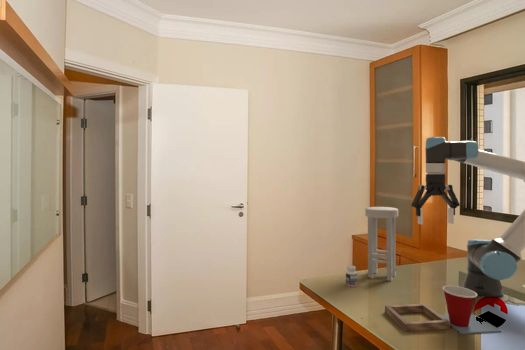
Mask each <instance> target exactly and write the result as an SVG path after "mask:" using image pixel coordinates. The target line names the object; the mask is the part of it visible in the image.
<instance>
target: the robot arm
mask: <svg viewBox="0 0 525 350" xmlns="http://www.w3.org/2000/svg"><path fill="white" fill-rule="evenodd" d="M446 160H448V161H454V162H458V163H461V164H466V165H469V166H473V167H476V168H479V169H483V170H487V171H491V172H494V173H497V174H501V175H505V176H508V177H513V178H515V179H519V180H522V181H523V182H524V183H525V161H523V160H519V159H516V158H512V157H508V156H505V155H500V154H497V153H494V152H489V151H485V150H483V149H482V150H481V149H479V143H478V142H477V141H476V140H475V141H474V140H461V141H460V140H459V141H447V140H446V138H445V136H430V137H427V138H426V140H425V173H426V174H425V185H424V184H423V185H422V184H419V185H418V190H417V192H416V194H415V195H414V199H413V201H412V202H411V204H410V205H411V207H413V208H414V209H415V216H417V224H418V225H424V210H423V206H424V205H425V204H426V202H427V201H428V200H429V198H430V197H433V196H434V197H435V196H436V197H437V196H440V197H441V198H442V199H443V200H444V202H445V203H446V204H447V205H448V207H447V223H449V224H454V223H455V222H454V220H455V219H454V216H456V208H458V207H460V202H459V200H458V198H457V196H456V193H455V192H454V189H453V185H452V184H445V183H446V174H445V173H446ZM425 190H426V191H425ZM445 190H446V191H445ZM424 192H425V193H424ZM446 192H447V193H446ZM466 249H467V251H466V252H467V254H466V255H467V256H466V257H467V260H466V261H467V267H466V275H465V277H464V280H463V282H462V287H463V288H466V289H469V290H472V291H474V292H476V293H477V296H482V297H492V298H493V297H495V298H496V297H501V296H503V295H504V287H503V285H502V283H501V280H502V281H503V280H504V281H505V280H508V279H510V278H512V277H513V276H514V275H515V274H516V273H517V270H518V263H519V262H520V261H521V260H522V254H521V253H522V251H523V250H524V249H525V209H523V211H522V212H521V213H520V214H519V215H518V216H517V218H516V219H515V220H514V221H513V222H512V223H511V224H510V225H509V227H508V228H507V229H506V230H505V231H504V232H503V233H502V235H501V236H500V237H497V238H492V239H475V238H473V239H468V240H467V245H466Z"/></svg>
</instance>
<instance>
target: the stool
mask: <svg viewBox="0 0 525 350" xmlns="http://www.w3.org/2000/svg"><path fill="white" fill-rule="evenodd" d="M364 210H365V211H364V212H365V217H367V277H370V278H369V279H374V276H375V275H374V274H376V275H377V274H379V273H378V272H379V271H378V269H379V268H378V264H386V281H387V280H388V282H392V281H393V277H396V274H397V265H396V264H397V260H396V255H397V254H396V252H397V251H396V244H397V242H396V240H397V238H396V237H397V236H396V235H397V234H396V228H397V227H396V218H398V217H399V209H398V208H396V207H391V206H369V207H366V208H364ZM378 219H386V250H383V249H378ZM382 259H384V260H382Z"/></svg>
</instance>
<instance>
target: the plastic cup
mask: <svg viewBox="0 0 525 350" xmlns="http://www.w3.org/2000/svg"><path fill="white" fill-rule="evenodd" d="M442 290H443V292H444V298H445V303H446V310H447V315H449V320H450V323H451V324H453V325H455V326H458V327H467V326H468V325H469V321H470V317H471V313H473V307H474V303H475V300H476V299H477V297H478V295H477V293H476V292H474V291H472V290H469V289H466V288H463V286H457V285H444V286H442Z"/></svg>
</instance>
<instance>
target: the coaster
mask: <svg viewBox="0 0 525 350" xmlns="http://www.w3.org/2000/svg"><path fill="white" fill-rule="evenodd" d="M471 313H472V314H473V315H472V314H471V317H470V321H469V325H468V326H467V327H458V326H455V325H453V324H451V323H450V327H451V326H452V327H451V328H453V329H454V330H455V329H456V330H455V331H457V332H458V331H459V334H461V335H470V334H471V335H473V334H488V332H491V333H502V330H501V329H499V327H498V328H497V326H495V325H493V324H491V323H489V322H488V321H486V320H485V321H486V322H485V321H483V322H481V323H482V324H481V323H480V322H479V321H476V317H474V316H475V315H476V314H475V315H474V313H473V312H471ZM440 315H441V316H443V317H444V318H445V319H447V320H448V321H450V320H449V314H440ZM476 316H477V317H478V318H481V317H480V316H478V315H476Z"/></svg>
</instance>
